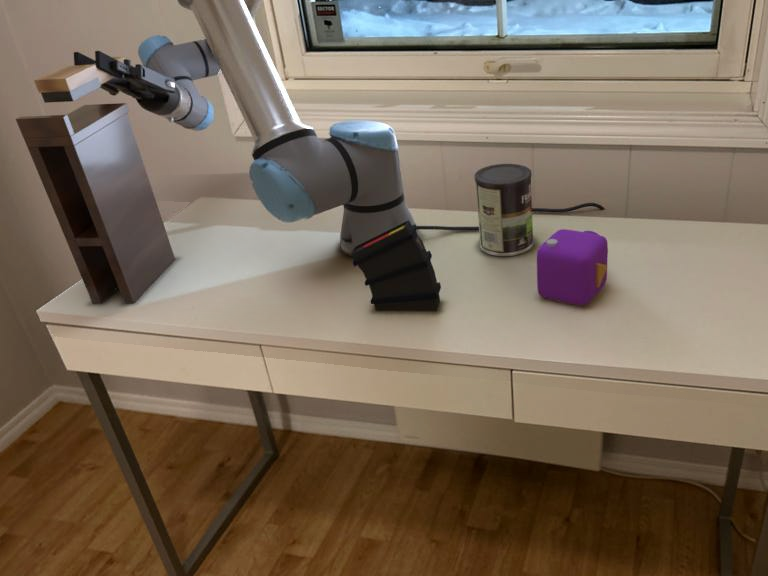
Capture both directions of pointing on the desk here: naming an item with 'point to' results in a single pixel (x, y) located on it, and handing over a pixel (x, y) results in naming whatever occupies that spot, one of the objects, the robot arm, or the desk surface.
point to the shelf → (101, 197)
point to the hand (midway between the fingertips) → (86, 59)
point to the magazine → (398, 270)
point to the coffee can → (504, 209)
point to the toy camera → (572, 266)
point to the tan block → (72, 82)
